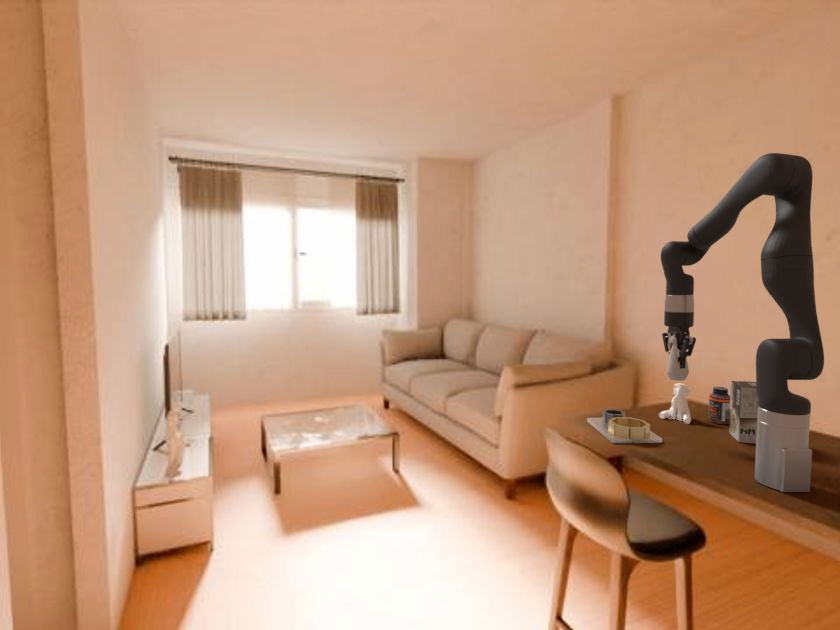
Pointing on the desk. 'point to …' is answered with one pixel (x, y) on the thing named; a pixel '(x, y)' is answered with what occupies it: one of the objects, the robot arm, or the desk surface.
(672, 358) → the salt shaker
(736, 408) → the coffee box
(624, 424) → the fitting plate
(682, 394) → the sitting furry creature
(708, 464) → the desk surface
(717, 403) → the supplement bottle
